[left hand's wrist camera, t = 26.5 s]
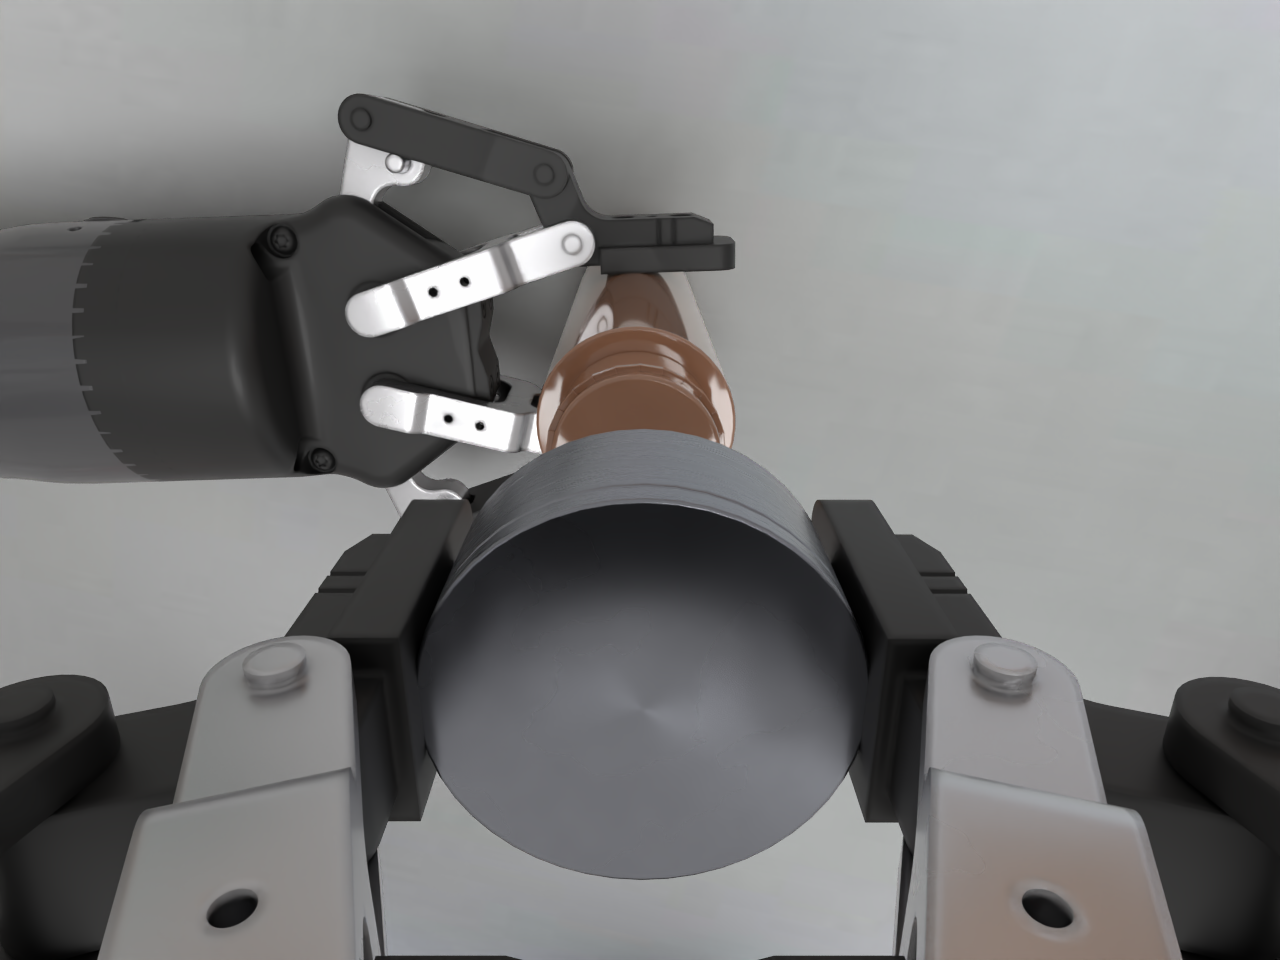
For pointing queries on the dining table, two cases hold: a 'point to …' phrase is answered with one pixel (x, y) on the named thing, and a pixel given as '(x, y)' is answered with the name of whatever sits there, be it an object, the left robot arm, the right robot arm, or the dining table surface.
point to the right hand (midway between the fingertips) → (728, 334)
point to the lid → (642, 660)
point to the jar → (634, 364)
